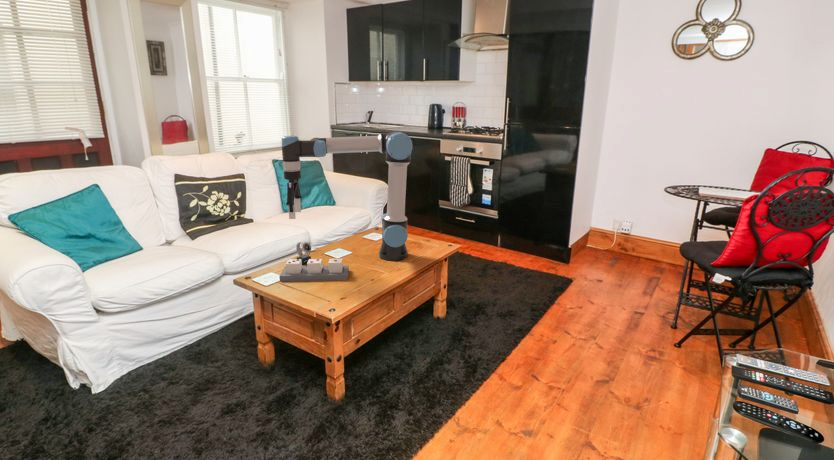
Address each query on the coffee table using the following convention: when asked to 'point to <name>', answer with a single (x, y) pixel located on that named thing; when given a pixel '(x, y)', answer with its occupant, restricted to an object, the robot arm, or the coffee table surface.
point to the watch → (306, 249)
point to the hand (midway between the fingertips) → (295, 215)
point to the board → (314, 275)
